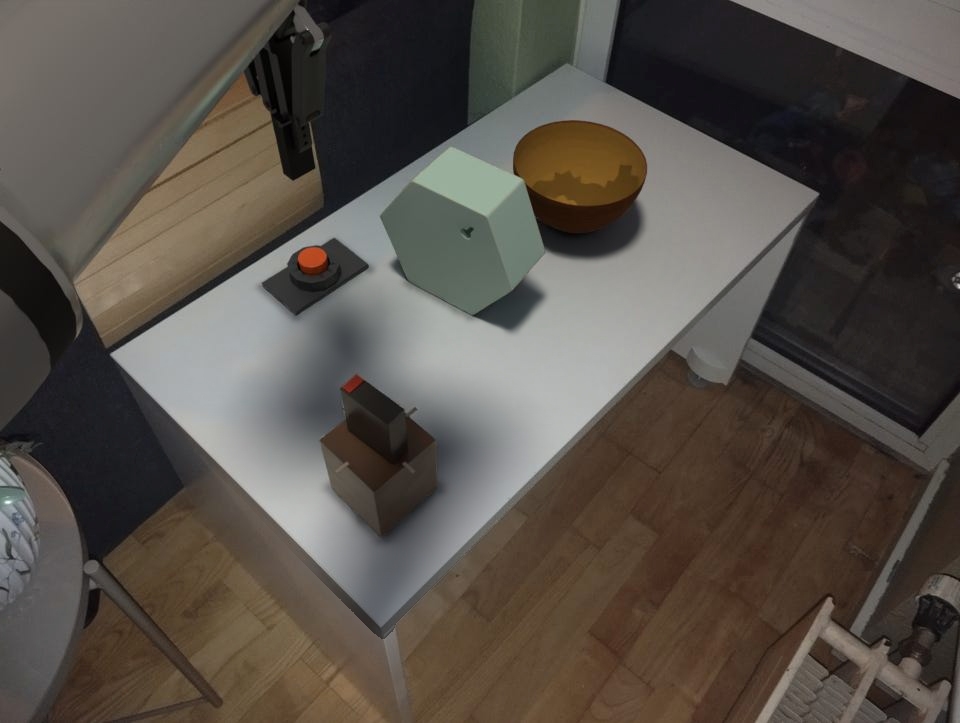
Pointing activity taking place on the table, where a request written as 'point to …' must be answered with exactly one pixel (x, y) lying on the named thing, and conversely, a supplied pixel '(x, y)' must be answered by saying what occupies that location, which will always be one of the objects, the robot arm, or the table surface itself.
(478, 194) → the sage hexagonal prism
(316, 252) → the button
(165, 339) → the table surface
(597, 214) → the bowl
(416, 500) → the pegged wooden cube
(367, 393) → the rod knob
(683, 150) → the table surface
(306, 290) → the button box
